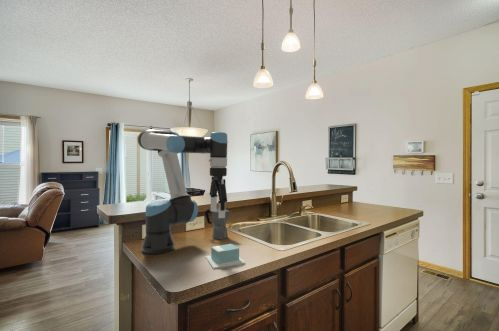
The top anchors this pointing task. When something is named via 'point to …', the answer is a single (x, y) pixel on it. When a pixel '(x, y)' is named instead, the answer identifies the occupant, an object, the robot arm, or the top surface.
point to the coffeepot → (218, 224)
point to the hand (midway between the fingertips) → (217, 214)
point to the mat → (227, 264)
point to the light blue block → (224, 253)
